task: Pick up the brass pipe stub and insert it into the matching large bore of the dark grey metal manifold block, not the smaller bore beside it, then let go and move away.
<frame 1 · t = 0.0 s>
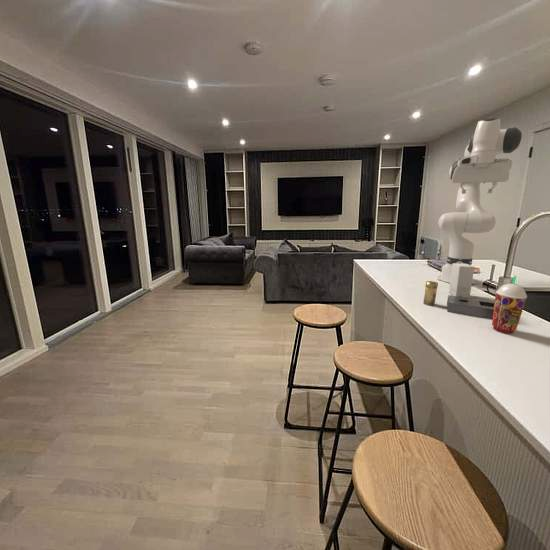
hand: (476, 193, 123), 48 cm above the table, fingers open, 8 cm apart
skincare box: (458, 296, 137), on the table
smoothie: (503, 330, 100), on the table
manifold block: (474, 311, 117), on the table
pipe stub: (428, 304, 126), on the table
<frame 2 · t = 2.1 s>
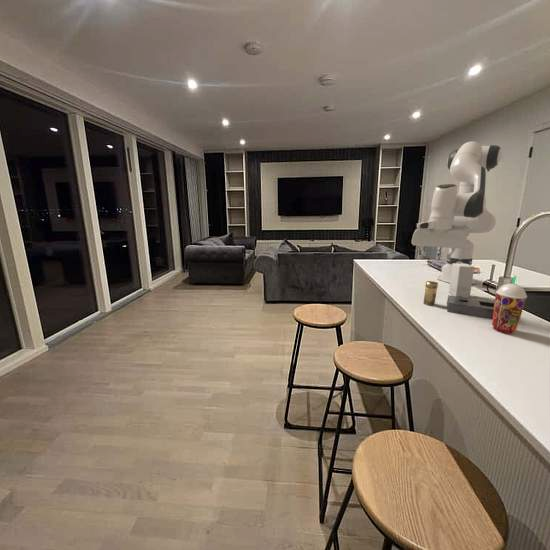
hand: (435, 257, 120), 21 cm above the table, fingers open, 8 cm apart
nothing on the table moved.
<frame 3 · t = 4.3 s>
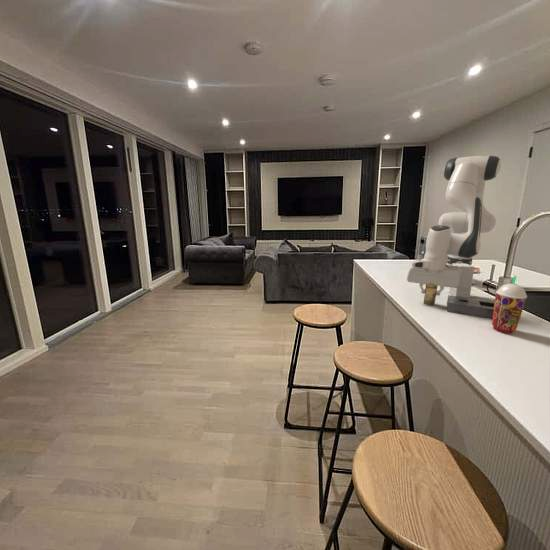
hand: (430, 294, 125), 5 cm above the table, fingers closed on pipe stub, 4 cm apart
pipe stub: (428, 303, 126), on the table, touching gripper
everything else where it was.
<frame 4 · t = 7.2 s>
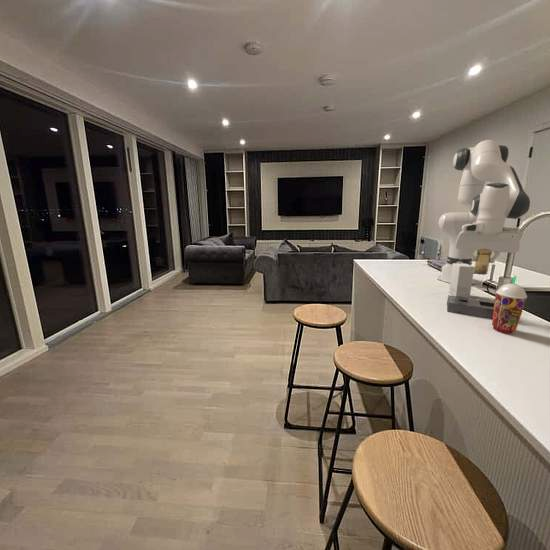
hand: (482, 261, 112), 21 cm above the table, fingers closed on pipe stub, 4 cm apart
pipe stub: (480, 273, 113), point 17 cm above the table, touching gripper
everything else where it was.
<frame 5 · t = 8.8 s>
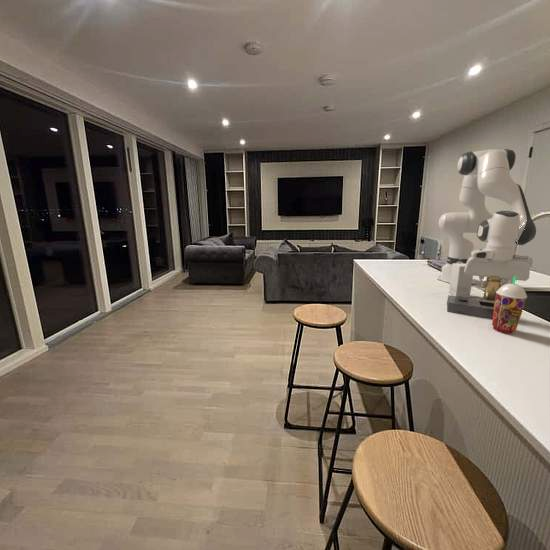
hand: (492, 288, 112), 11 cm above the table, fingers closed on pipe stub, 4 cm apart
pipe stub: (489, 299, 113), point 6 cm above the table, touching gripper
everything else where it was.
when the fingers open (6 cm above the table, at t = 10.3 s): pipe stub drops 1 cm, resting in manifold block.
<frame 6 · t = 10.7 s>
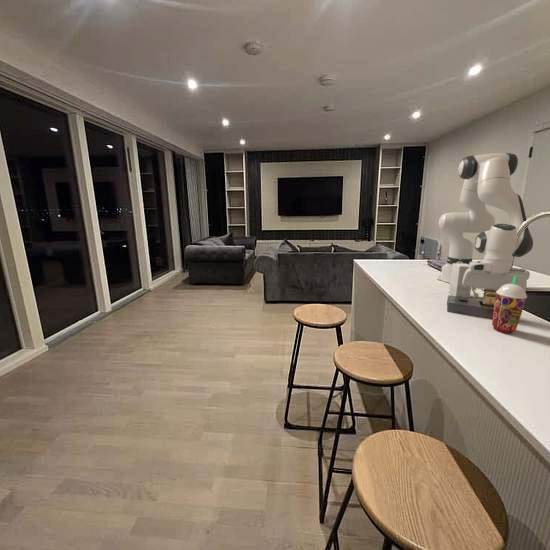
hand: (489, 299, 113), 6 cm above the table, fingers open, 8 cm apart
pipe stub: (486, 313, 115), resting in manifold block
everything else where it was.
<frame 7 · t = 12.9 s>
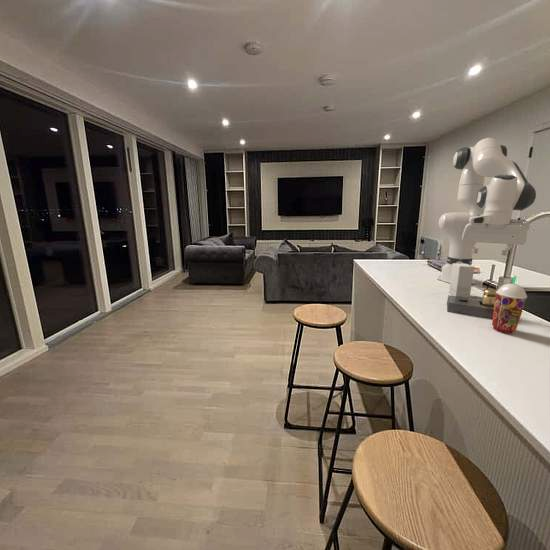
hand: (489, 254, 113), 24 cm above the table, fingers open, 8 cm apart
nothing on the table moved.
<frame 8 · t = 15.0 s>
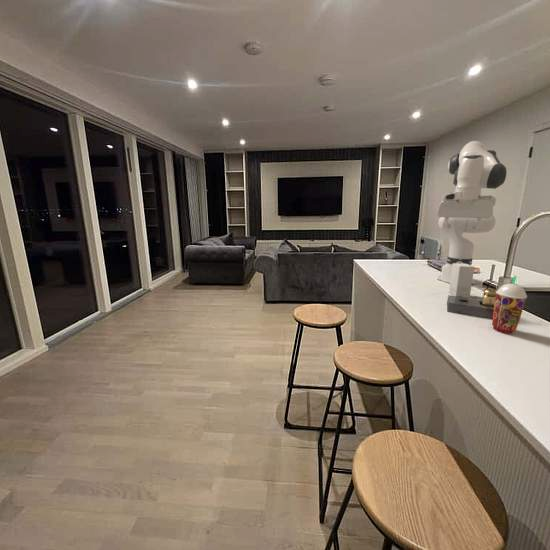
hand: (460, 228, 123), 33 cm above the table, fingers open, 8 cm apart
nothing on the table moved.
at the end: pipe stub 0.0 cm from the target spot on the manifold block, point 0.0 cm above the manifold block's base; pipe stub tilted 0°; the gripper is holding nothing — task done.
